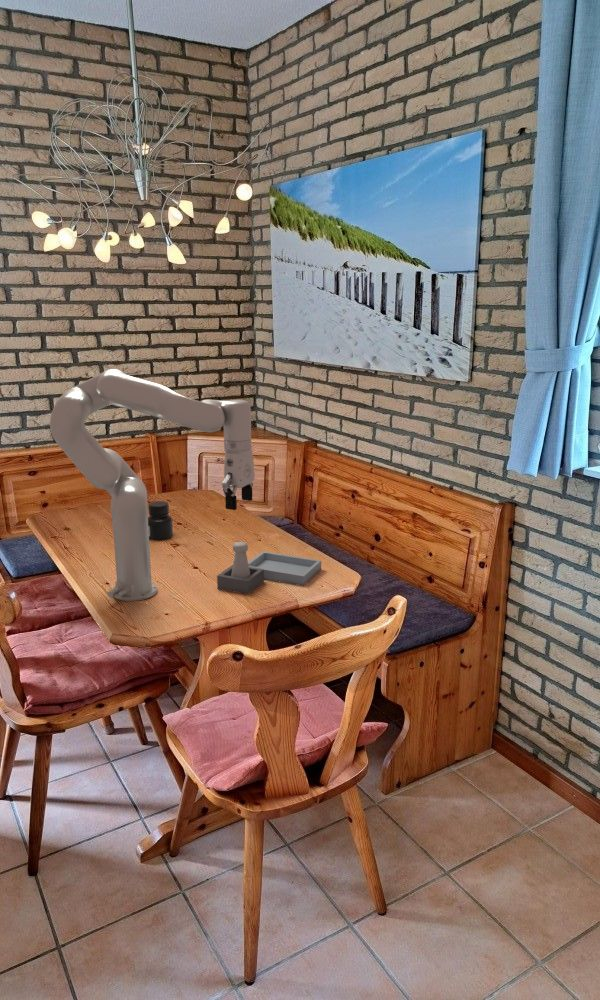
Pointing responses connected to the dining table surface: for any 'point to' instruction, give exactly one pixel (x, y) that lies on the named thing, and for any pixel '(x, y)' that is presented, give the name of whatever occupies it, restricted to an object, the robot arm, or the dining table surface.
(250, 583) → the holder
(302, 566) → the tray
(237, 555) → the salt shaker
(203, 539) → the dining table surface
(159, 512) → the ink bottle
